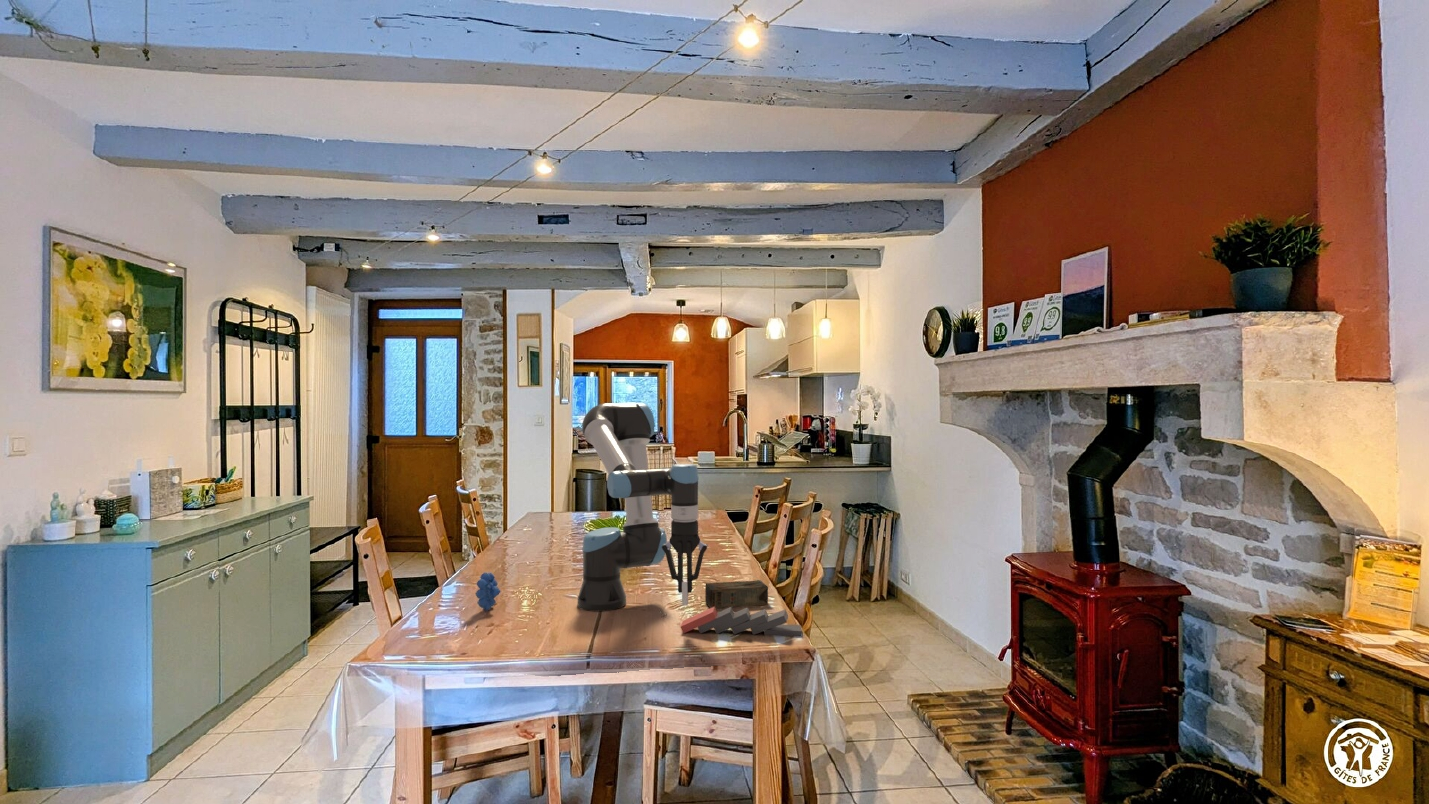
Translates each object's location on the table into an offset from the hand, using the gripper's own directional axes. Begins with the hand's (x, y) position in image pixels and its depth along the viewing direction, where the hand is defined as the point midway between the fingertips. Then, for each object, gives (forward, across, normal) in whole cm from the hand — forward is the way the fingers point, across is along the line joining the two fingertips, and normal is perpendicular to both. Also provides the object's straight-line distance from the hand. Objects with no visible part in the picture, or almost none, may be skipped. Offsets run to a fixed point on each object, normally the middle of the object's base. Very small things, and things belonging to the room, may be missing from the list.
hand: (685, 604), depth 191 cm
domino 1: (+7, +4, 0) cm, 8 cm away
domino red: (+7, -1, 0) cm, 7 cm away
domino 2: (+7, +9, 0) cm, 11 cm away
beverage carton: (+8, +13, +26) cm, 31 cm away
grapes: (+8, -62, +15) cm, 64 cm away
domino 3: (+7, +13, 0) cm, 15 cm away
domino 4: (+6, +19, 0) cm, 20 cm away
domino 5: (+7, +22, 0) cm, 23 cm away
